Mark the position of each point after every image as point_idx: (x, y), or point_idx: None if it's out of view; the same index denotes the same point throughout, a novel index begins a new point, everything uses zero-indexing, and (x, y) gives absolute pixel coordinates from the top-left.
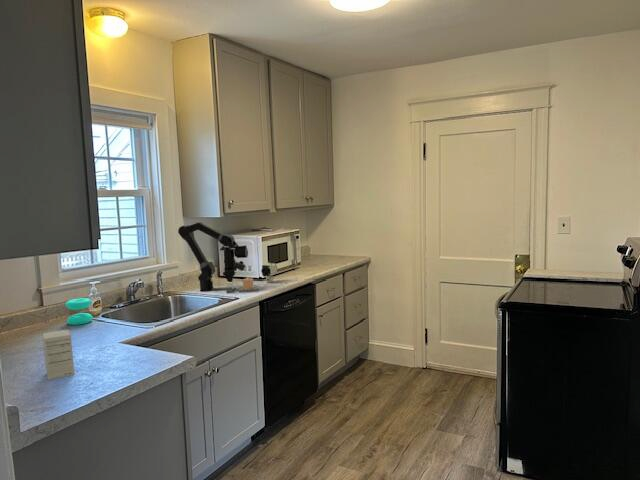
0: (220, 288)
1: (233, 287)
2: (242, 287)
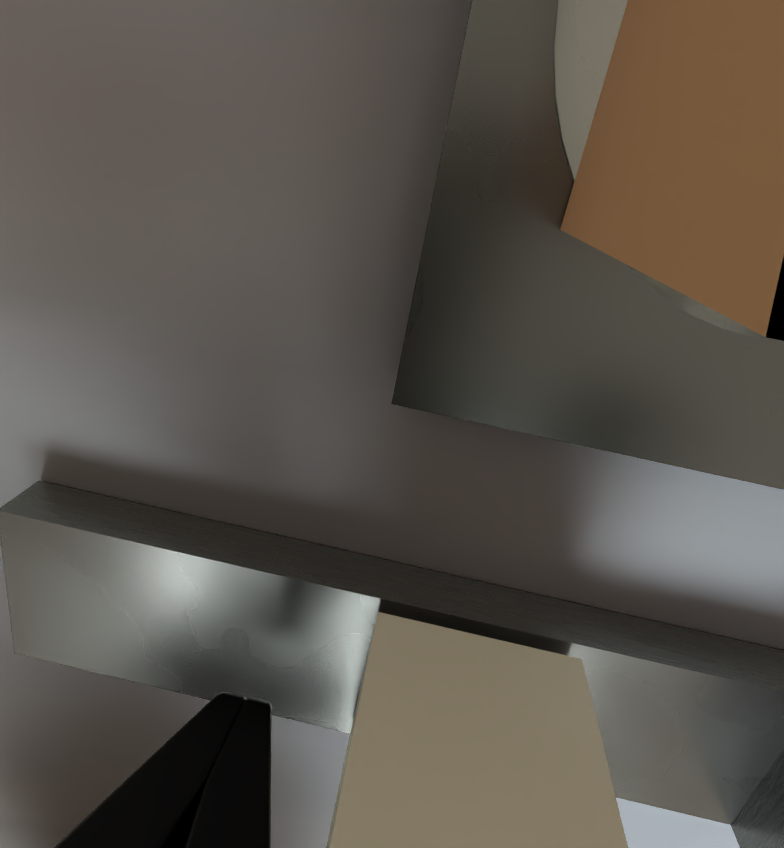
0: (33, 761)
1: (411, 633)
2: (460, 299)
